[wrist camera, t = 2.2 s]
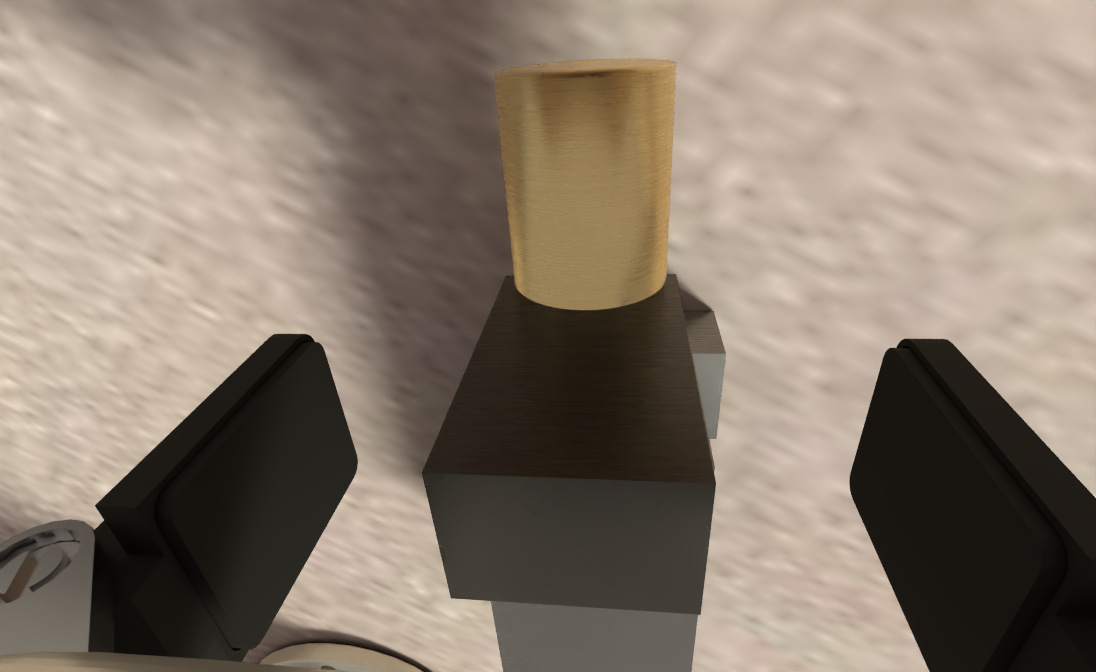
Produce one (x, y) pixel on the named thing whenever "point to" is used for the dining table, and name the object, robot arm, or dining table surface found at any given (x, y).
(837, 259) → the dining table surface
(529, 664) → the metal sleeve
